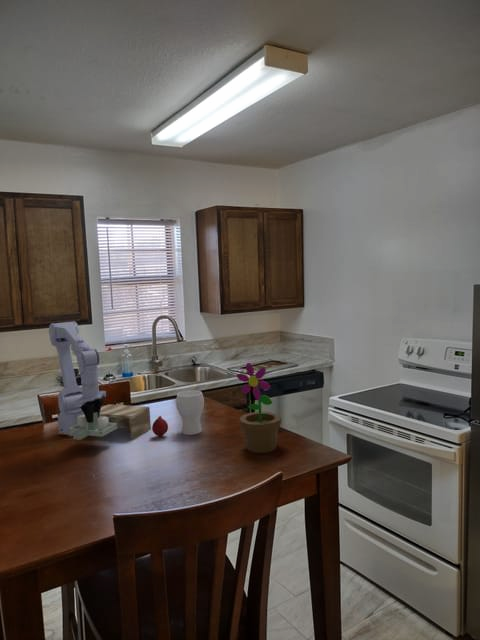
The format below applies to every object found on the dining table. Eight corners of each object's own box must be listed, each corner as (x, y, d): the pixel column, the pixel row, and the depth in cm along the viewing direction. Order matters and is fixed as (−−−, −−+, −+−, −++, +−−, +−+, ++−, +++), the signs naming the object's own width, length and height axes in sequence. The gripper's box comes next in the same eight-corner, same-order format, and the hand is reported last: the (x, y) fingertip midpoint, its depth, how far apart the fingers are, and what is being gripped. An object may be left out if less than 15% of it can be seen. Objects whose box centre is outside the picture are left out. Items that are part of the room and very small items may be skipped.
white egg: (96, 431, 161) (95, 418, 161) (102, 428, 165) (101, 415, 164) (103, 432, 160) (102, 419, 160) (110, 429, 163) (109, 416, 163)
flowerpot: (233, 451, 153) (228, 363, 150) (252, 437, 166) (248, 356, 163) (272, 457, 146) (268, 365, 143) (288, 442, 159) (285, 357, 156)
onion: (160, 440, 167) (158, 419, 166) (149, 437, 170) (148, 417, 169) (171, 435, 171) (170, 415, 171) (161, 433, 175) (159, 413, 174)
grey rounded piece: (76, 429, 164) (75, 417, 164) (81, 426, 167) (80, 414, 167) (84, 429, 163) (83, 417, 163) (90, 426, 167) (89, 414, 166)
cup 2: (204, 435, 170) (201, 396, 168) (175, 436, 170) (173, 397, 169) (206, 426, 180) (204, 389, 179) (180, 427, 180) (177, 390, 179)
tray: (60, 437, 158) (58, 419, 157) (85, 425, 170) (84, 408, 170) (93, 441, 153) (92, 422, 152) (117, 428, 166) (116, 410, 165)
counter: (91, 435, 176) (89, 413, 175) (110, 425, 187) (109, 404, 186) (133, 439, 169) (132, 416, 168) (150, 429, 180) (149, 406, 179)
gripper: (85, 389, 154) (88, 428, 155) (111, 379, 168) (114, 415, 169) (68, 388, 157) (72, 426, 158) (95, 378, 170) (98, 414, 171)
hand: (92, 421), depth 163 cm, fingers closed on tray, 2 cm apart
